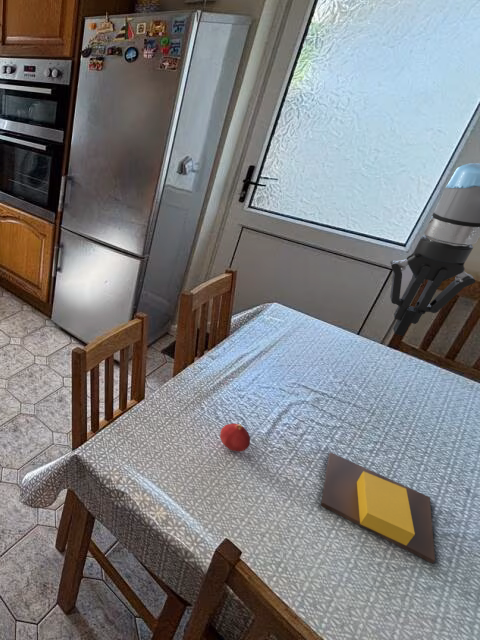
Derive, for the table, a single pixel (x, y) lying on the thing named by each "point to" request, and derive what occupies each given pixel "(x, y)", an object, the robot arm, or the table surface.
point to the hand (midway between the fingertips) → (398, 332)
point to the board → (344, 502)
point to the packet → (384, 508)
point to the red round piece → (235, 437)
